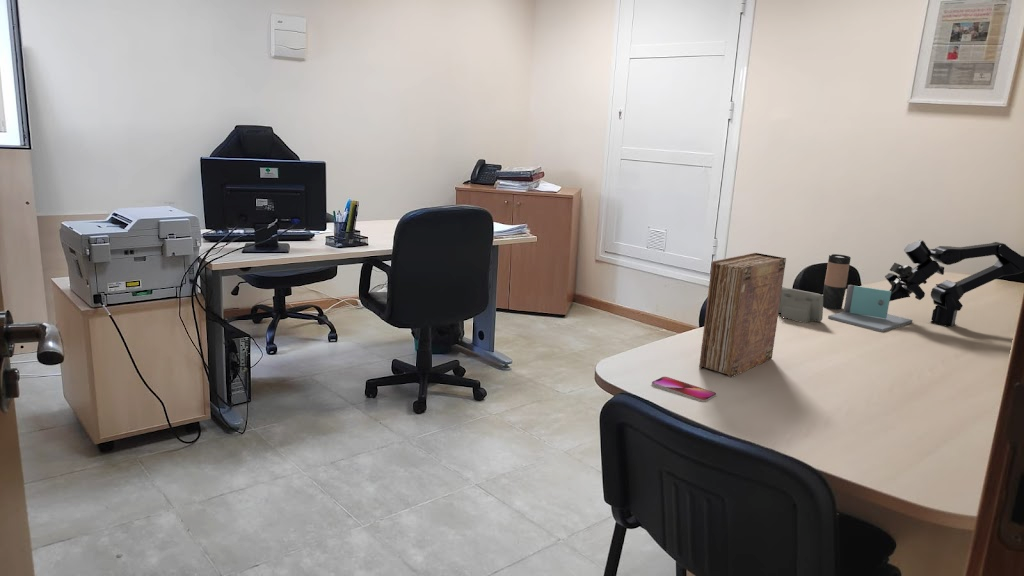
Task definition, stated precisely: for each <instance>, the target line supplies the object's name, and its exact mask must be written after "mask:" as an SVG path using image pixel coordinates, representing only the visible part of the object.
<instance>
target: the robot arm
mask: <svg viewBox="0 0 1024 576" xmlns="http://www.w3.org/2000/svg"><path fill="white" fill-rule="evenodd" d="M903 252H905V254H906V256H907V257H908V259H910V261H911V262H912V263H913V264H916V265H915V267H911V266H909V264H905V265H902V264H899V263H897V262H894V263H893V264H892V265H891V267H890V269H889V271H890V272H891V273H890V272H889V273H887V274H886V275H884V278H885V280H887V282H888V283H889V284H890V285H891V287H890V289H889V291H891V296H890V301H889V302H893V301H896V300H902V299H906V298H911V294H914V296H915V299H917V300H919V301H921V300H923V298H925V296H926V293H925V291H924V290H923V289H922V288H921V285H922V284H923V285H925V284H927V283H928V281H927V280H929V278H931V277H932V276H934V275H935V274H936V273H937V274H939V275H941V276H942V275H943V276H944V275H945V267H944V266H942V265H940V264H943V265H946V266H951V265H955V264H957V263H959V262H962V261H963V260H968V259H974V258H982V257H991V256H995V258H996V259H997V261H996V262H995V263H994V264H993V265H992V266H988V267H987V268H985V269H982V270H980V271H977V272H975V273H974V274H971V275H969V276H967V277H964V278H962V279H961V280H958V281H955V282H953V281H951V280H948V279H946V280H944V281H942V282H940V283H935V286H934V287H933V288H932V289H931V291H930V297H931V299H932V302H933V305H935V307H934V309H932V315H931V321H930V324H936V325H939V324H940V326H943V325H946V326H945V327H948V326H951V327H953V326H952V325H954V324H955V323H956V319H957V314H958V312H960V311H961V309H962V308H963V304H962V302H961V301H960V300H961V298H962V297H963V296H964V295H965V294H966V293H969V292H971V291H973V290H975V289H978V288H979V287H981V286H983V285H986V284H988V283H991V282H992V281H994V280H997V279H999V278H1001V277H1004V276H1012V275H1014V276H1015V275H1019V274H1021V273H1024V255H1021V254H1020V253H1018V252H1016V251H1014V250H1013V249H1012V248H1011V247H1009V246H1008V245H1007V244H1006V243H1003V242H999V241H994V242H991V243H983V244H981V243H980V244H976V245H975V244H974V245H968V246H961V247H960V246H947V245H946V246H945V245H939V246H936V247H935V248H929V247H928V246H927V243H926V242H925V241H924V240H923V239H919V240H917V241H914V242H912V243H909V244H907V245H906V246H904V248H903ZM939 263H940V264H939ZM892 272H893V273H892ZM954 326H955V325H954Z"/></svg>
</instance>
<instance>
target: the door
mask: <svg viewBox="0 0 1024 576" xmlns="http://www.w3.org/2000/svg"><path fill="white" fill-rule="evenodd" d="M890 296H891V291H890V290H887V289H879V288H873V287H867V286H866V287H865V286H861V285H860V286H858V285H853V284H847V287H846V293H845V299H844V307H843V311H844V312H847V313H855V314H861V315H867V316H873V317H879V318H885V319H886V318H887V314H888V312H889V306H890V302H891V301H890Z"/></svg>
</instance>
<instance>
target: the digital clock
mask: <svg viewBox="0 0 1024 576" xmlns="http://www.w3.org/2000/svg"><path fill="white" fill-rule="evenodd" d="M823 312H824V307H823V294H820V293H816V292H811V291H805V290H801V289H796V288H790V287H783V286H782V291H781V298H780V305H779V312H778V314H779V313H781V314H780V318H781V317H784V318H788V319H787V320H789V319H792V320H791V321H794V320H796V321H795V322H798V321H801V322H800V323H803V322H805V323H804V324H808V323H809V322H811V321H813V322H822V320H823ZM784 318H783V319H784ZM810 320H811V321H810Z"/></svg>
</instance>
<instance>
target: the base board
mask: <svg viewBox="0 0 1024 576" xmlns="http://www.w3.org/2000/svg"><path fill="white" fill-rule="evenodd" d="M827 319H829V320H833V321H836V322H841V323H845V324H849V325H853V326H857V327H861V328H865V329H869V330H872V331H876V332H879V333H883V332H887V331H889V330H892V329H896V328H899V327H903V326H906V325H909V324H911V323H913V319H911V318H910V319H909V318H907V317H903V316H899V315H894V314H890V313H887V318H886V319H885V318H879V317H873V316H867V315H861V314H855V313H847V312H844V310H841V311H840V312H838V313H833V314H829V315H828V317H827Z"/></svg>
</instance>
